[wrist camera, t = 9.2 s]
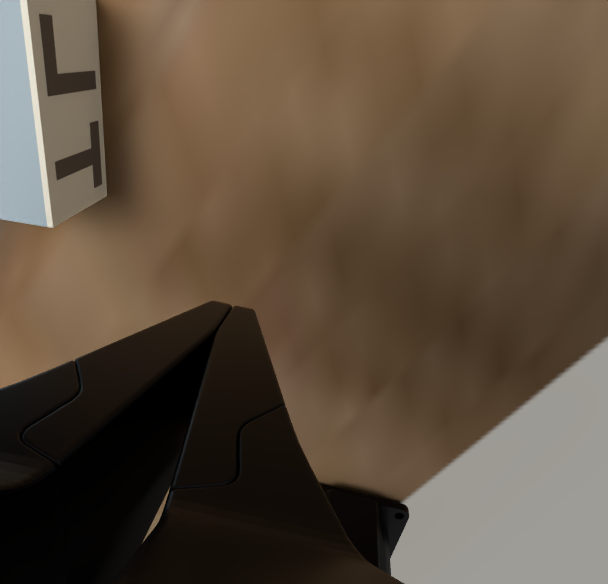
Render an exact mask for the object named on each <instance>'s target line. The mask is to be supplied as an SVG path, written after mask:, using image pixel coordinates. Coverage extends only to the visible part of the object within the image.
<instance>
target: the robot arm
mask: <svg viewBox="0 0 608 584" xmlns="http://www.w3.org/2000/svg"><path fill="white" fill-rule="evenodd" d="M170 485H171V486H170ZM169 487H170V490H169V494H168V497H167V500H166V504H165V507H164V510H163V513H162V515H161V518H160V520H159V522H158V524H157V525H156V527H155V528H154V529H153V531H152V532H151V533H150V534H149V536H148V537H147V538H146V539H145V541H144V542H143V540H144V538H145V536H146V534H147V532H148V530H149V528H150V526H151V524H152V522H153V520H154V518H155V516H156V514H157V512H158V510H159V508H160V506H161V504H162V501H163V499H164V497H165V495H166V493H167V491H168V489H169ZM408 518H409V511H408V508H407V506H406V505H404V504H401V503H397V502H393V501H388V500H384V499H379V498H375V497H371V496H366V495H362V494H357V493H353V492H349V491H344V490H340V489H335V488H331V487H327V486H322V485H320V484H319V482H318V480H317V478H316V476H315V474H314V472H313V470H312V468H311V467H310V465H309V462H308V460H307V458H306V456H305V454H304V452H303V450H302V448H301V446H300V444H299V441H298V439H297V436H296V433H295V431H294V428H293V426H292V423H291V420H290V417H289V414H288V411H287V408H286V407H285V402H284V399H283V396H282V393H281V390H280V387H279V384H278V381H277V378H276V375H275V372H274V368H273V365H272V362H271V359H270V356H269V353H268V350H267V347H266V344H265V341H264V338H263V335H262V332H261V328H260V325H259V322H258V319H257V316H256V313H255V311H254V310H253V309H249V308H245V307H240V306H234V307H233V308H232V306H231V305H230V304H226V303H221V302H217V301H210V302H208V303H205V304H203V305H201V306H198V307H196V308H194V309H191V310H189V311H187V312H184V313H182V314H180V315H177V316H175V317H173V318H170V319H168V320H166V321H163V322H161V323H159V324H156V325H154V326H152V327H149V328H147V329H145V330H142V331H140V332H138V333H135V334H133V335H131V336H128V337H126V338H123V339H121V340H119V341H116V342H114V343H112V344H109V345H107V346H105V347H102V348H100V349H98V350H95V351H93V352H91V353H88V354H86V355H84V356H81V357H79V358H77V359H76V360H75V361H69V362H67V363H65V364H62V365H60V366H58V367H55V368H53V369H51V370H48V371H46V372H43V373H41V374H38V375H36V376H33V377H31V378H28V379H26V380H23V381H21V382H18V383H15V384H12V385H10V386H7V387H4V388H1V389H0V584H404V583H402V582H400V581H399V580H397V579H395V578H394V577H392V576H391V568H390V558H391V555H392V553H393V551H394V549H395V546H396V545H397V542H398V540H399V538H400V536H401V533H402V532H403V529H404V527H405V525H406V523H407V521H408ZM142 542H143V543H142Z"/></svg>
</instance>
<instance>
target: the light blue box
mask: <svg viewBox="0 0 608 584" xmlns="http://www.w3.org/2000/svg"><path fill="white" fill-rule="evenodd" d="M106 196H107V185H106V167H105V150H104V133H103V115H102V98H101V80H100V63H99V46H98V28H97V11H96V0H0V219H3V220H9V221H15V222H21V223H27V224H33V225H39V226H45V227H51V228H54V227H55V226H57V225H59V224H60V223H62V222H64V221H66V220H67V219H69V218H71V217H72V216H74V215H76V214H77V213H79V212H81V211H83V210H84V209H86V208H88V207H89V206H91V205H93V204H94V203H96V202H98V201H100V200H101V199H103V198H105V197H106Z"/></svg>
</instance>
